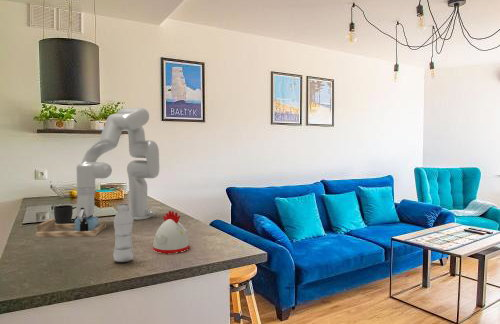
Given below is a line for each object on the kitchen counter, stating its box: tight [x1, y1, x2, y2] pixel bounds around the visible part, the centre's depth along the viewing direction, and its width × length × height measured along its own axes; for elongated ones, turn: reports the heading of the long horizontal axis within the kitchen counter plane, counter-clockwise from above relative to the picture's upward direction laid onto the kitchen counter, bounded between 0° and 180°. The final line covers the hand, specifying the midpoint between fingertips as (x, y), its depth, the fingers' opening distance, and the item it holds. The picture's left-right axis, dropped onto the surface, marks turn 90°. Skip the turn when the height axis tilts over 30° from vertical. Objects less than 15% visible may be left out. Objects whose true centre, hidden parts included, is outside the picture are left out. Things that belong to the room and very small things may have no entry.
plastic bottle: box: [112, 203, 134, 263], centre depth 125 cm, size 6×7×20 cm
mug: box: [53, 204, 78, 224], centre depth 178 cm, size 8×12×10 cm
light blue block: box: [74, 216, 99, 231], centre depth 161 cm, size 8×6×6 cm
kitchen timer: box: [152, 210, 190, 253], centre depth 141 cm, size 14×14×15 cm
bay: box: [35, 217, 107, 238], centre depth 161 cm, size 24×16×6 cm, turn 96°
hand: (86, 230), depth 161 cm, fingers closed on light blue block, 6 cm apart
